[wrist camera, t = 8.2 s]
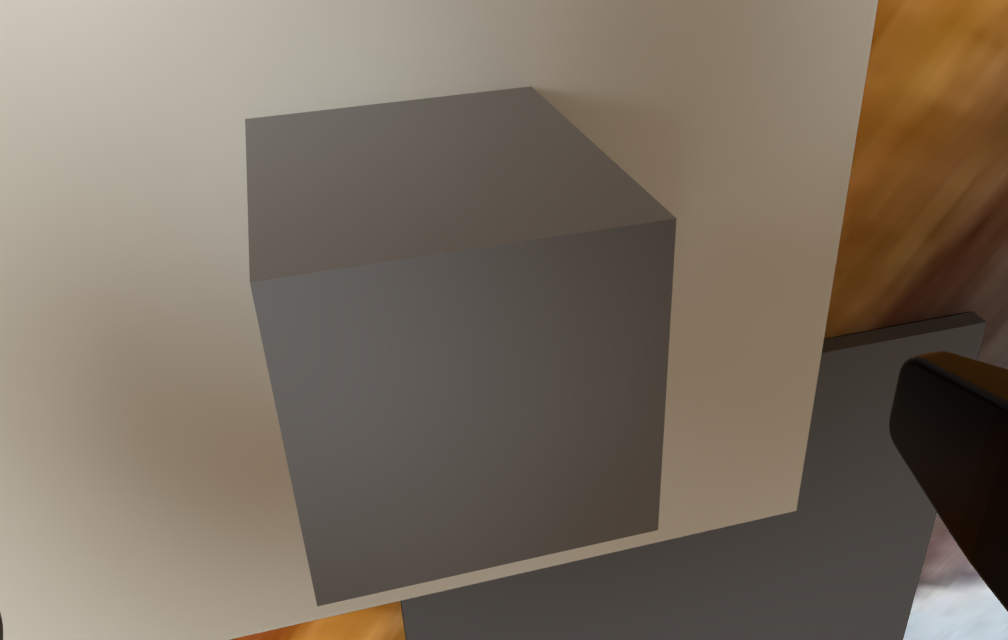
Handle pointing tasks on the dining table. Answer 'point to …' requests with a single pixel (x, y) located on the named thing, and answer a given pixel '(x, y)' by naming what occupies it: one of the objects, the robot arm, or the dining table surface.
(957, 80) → the dining table surface
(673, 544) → the mat
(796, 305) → the lid
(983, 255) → the dining table surface
